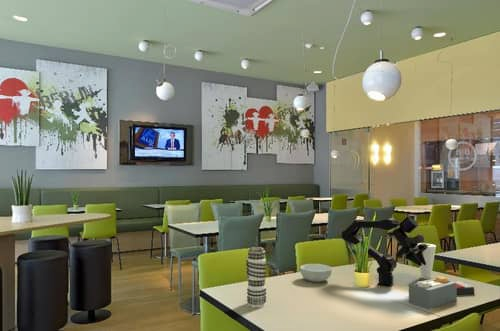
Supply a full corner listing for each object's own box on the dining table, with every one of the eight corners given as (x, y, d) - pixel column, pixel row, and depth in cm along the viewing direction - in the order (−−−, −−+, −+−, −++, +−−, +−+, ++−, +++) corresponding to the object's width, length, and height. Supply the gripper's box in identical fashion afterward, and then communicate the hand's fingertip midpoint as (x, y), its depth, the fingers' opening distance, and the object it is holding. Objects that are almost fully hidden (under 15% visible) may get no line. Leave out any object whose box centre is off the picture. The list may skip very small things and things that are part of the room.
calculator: (431, 282, 195) (459, 279, 197) (432, 291, 195) (459, 288, 197) (445, 288, 184) (474, 285, 186) (445, 297, 184) (475, 294, 186)
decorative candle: (242, 303, 174) (241, 247, 174) (258, 299, 179) (258, 245, 180) (254, 309, 167) (254, 250, 167) (271, 304, 172) (270, 248, 173)
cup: (416, 279, 212) (416, 246, 213) (414, 274, 223) (414, 243, 223) (438, 281, 209) (437, 247, 210) (435, 276, 220) (434, 243, 220)
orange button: (433, 284, 181) (433, 277, 181) (439, 282, 183) (439, 275, 183) (443, 286, 176) (443, 279, 177) (449, 284, 179) (449, 278, 179)
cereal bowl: (295, 281, 209) (295, 268, 210) (307, 274, 224) (307, 262, 224) (325, 286, 201) (325, 272, 201) (336, 278, 215) (336, 266, 215)
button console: (408, 302, 174) (408, 284, 175) (435, 294, 186) (435, 277, 186) (429, 309, 166) (429, 289, 166) (456, 300, 178) (456, 281, 178)
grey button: (415, 289, 173) (414, 282, 173) (421, 287, 176) (421, 280, 176) (425, 291, 169) (425, 284, 169) (432, 289, 172) (432, 283, 172)
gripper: (401, 230, 187) (422, 257, 178) (424, 227, 198) (445, 253, 188) (387, 244, 194) (407, 271, 184) (410, 241, 204) (430, 266, 195)
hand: (423, 265), depth 188 cm, fingers open, 3 cm apart
